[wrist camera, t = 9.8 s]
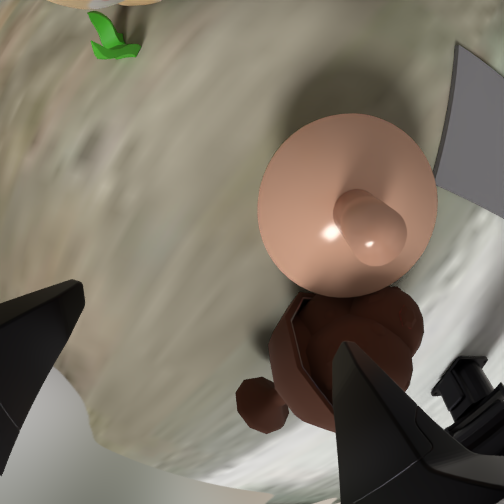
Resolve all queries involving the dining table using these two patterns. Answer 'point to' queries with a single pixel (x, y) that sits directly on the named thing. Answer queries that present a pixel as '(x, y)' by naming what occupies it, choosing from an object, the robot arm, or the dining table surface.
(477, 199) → the mat
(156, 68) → the dining table surface
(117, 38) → the kitten
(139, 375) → the dining table surface
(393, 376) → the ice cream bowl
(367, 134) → the lid
